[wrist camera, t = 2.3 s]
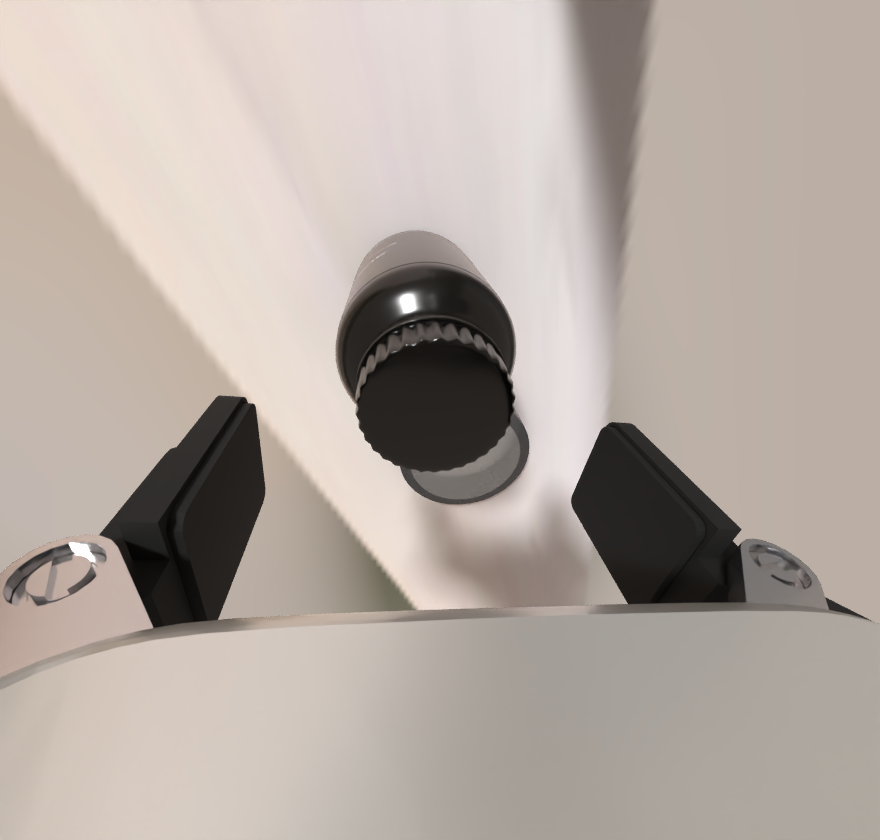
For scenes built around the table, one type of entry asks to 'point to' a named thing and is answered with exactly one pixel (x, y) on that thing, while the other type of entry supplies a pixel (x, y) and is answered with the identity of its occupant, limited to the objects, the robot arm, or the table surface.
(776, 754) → the robot arm
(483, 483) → the plate
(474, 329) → the supplement bottle
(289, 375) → the table surface
